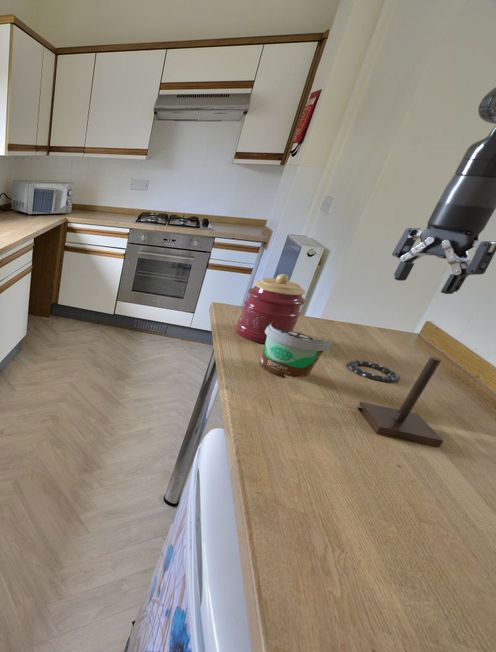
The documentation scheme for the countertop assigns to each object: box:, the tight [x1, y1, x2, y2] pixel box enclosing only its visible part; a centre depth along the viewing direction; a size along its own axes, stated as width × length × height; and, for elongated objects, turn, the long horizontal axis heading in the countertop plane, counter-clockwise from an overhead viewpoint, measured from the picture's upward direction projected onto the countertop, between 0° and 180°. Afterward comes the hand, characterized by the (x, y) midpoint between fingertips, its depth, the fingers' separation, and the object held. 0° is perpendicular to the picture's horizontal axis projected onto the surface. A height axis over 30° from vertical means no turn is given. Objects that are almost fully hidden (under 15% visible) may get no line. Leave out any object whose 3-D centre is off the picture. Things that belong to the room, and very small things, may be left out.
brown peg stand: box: [356, 356, 444, 448], centre depth 74 cm, size 9×9×14 cm
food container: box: [260, 324, 332, 379], centre depth 92 cm, size 12×6×10 cm, turn 45°
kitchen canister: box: [235, 273, 307, 345], centre depth 110 cm, size 13×13×18 cm
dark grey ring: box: [346, 360, 401, 384], centre depth 95 cm, size 9×9×2 cm
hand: (421, 286), depth 83 cm, fingers open, 8 cm apart
